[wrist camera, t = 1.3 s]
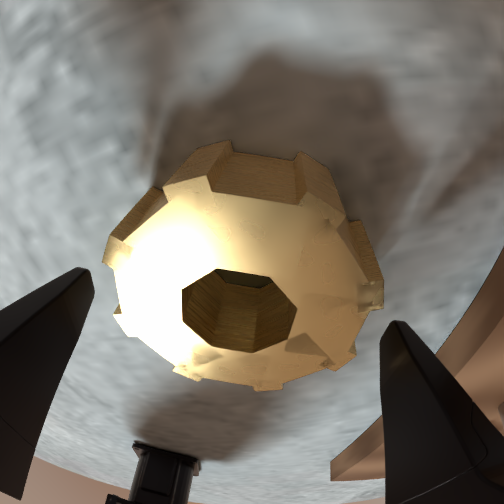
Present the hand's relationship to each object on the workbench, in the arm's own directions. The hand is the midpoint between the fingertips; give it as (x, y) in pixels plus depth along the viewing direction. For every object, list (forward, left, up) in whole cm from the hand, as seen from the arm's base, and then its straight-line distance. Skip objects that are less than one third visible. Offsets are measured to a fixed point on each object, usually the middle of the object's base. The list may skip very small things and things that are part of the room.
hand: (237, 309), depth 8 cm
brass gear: (0, 0, -3) cm, 3 cm away
